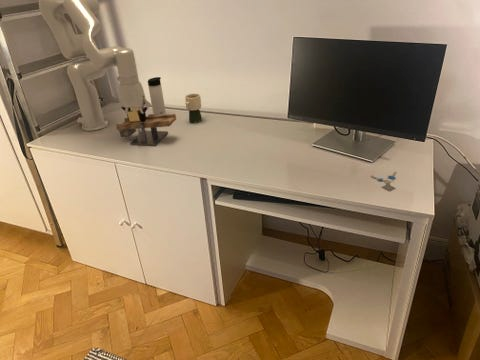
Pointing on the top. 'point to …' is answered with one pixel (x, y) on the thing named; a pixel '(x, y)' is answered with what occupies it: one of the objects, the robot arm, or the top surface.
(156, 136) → the stand
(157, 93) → the travel mug
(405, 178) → the top surface
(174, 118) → the beam
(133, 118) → the tan block
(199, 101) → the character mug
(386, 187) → the key chain
